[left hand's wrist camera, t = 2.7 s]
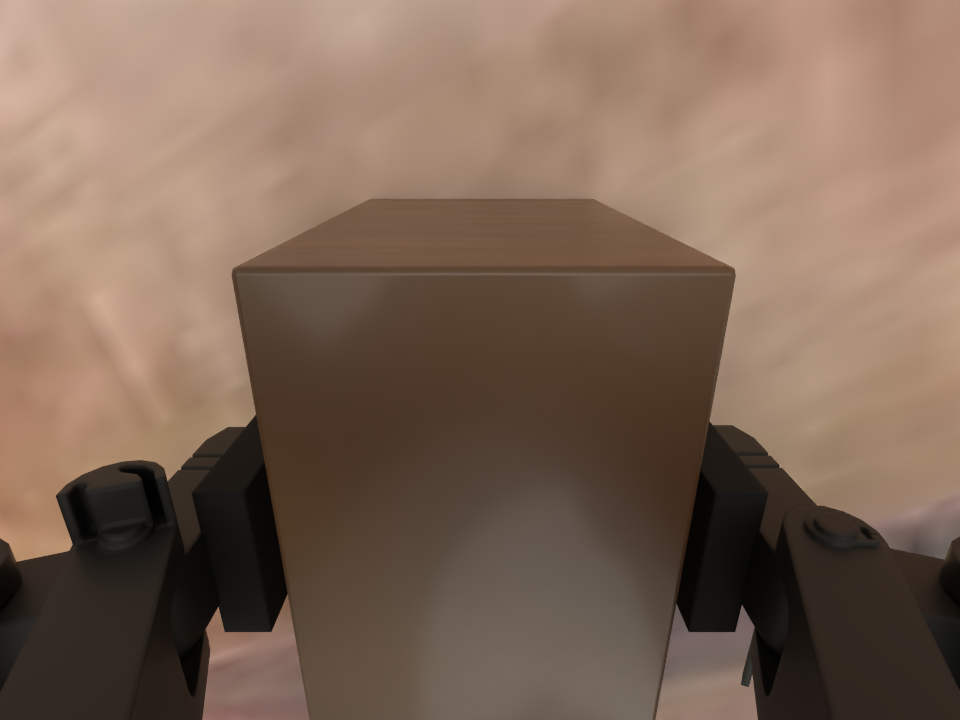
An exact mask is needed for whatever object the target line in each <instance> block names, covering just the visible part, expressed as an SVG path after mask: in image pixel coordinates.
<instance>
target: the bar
mask: <svg viewBox="0 0 960 720" xmlns="http://www.w3.org/2000/svg"><path fill="white" fill-rule="evenodd" d="M735 276H736V275H735V270H734V268H732V267H730V266H728V265H726V264H724V263H722V262H720V261H718V260H716V259H714V258H712V257H710V256H708V255H706V254H704V253H702V252H700V251H698V250H696V249H694V248H692V247H690V246H688V245H685V244H683V243H681V242H679V241H677V240H675V239H673V238H671V237H669V236H667V235H665V234H663V233H661V232H659V231H657V230H655V229H653V228H651V227H649V226H647V225H645V224H643V223H641V222H638V221H636V220H634V219H632V218H630V217H628V216H626V215H624V214H622V213H620V212H618V211H616V210H614V209H612V208H610V207H608V206H606V205H604V204H602V203H600V202H598V201H596V200H593V199H370V200H368V201H366V202H364V203H362V204H360V205H358V206H356V207H354V208H352V209H350V210H348V211H346V212H344V213H342V214H340V215H338V216H336V217H334V218H332V219H330V220H328V221H326V222H324V223H322V224H320V225H318V226H316V227H314V228H312V229H310V230H308V231H306V232H304V233H302V234H300V235H298V236H296V237H294V238H292V239H290V240H288V241H286V242H284V243H282V244H280V245H278V246H277V247H275V248H273V249H271V250H269V251H267V252H265V253H263V254H261V255H259V256H257V257H255V258H253V259H251V260H249V261H247V262H245V263H243V264H241V265H239V266H237V267H235V268H233V271H232V279H233V285H234V291H235V296H236V302H237V308H238V313H239V319H240V325H241V330H242V336H243V342H244V347H245V353H246V359H247V364H248V370H249V376H250V382H251V387H252V393H253V399H254V404H255V410H256V416H257V421H258V427H259V433H260V438H261V444H262V450H263V455H264V461H265V467H266V473H267V478H268V484H269V490H270V495H271V501H272V507H273V512H274V518H275V524H276V529H277V535H278V541H279V546H280V552H281V558H282V564H283V569H284V575H285V581H286V586H287V592H288V598H289V603H290V609H291V615H292V620H293V626H294V632H295V638H296V643H297V649H298V655H299V660H300V666H301V672H302V677H303V683H304V689H305V694H306V700H307V706H308V711H309V717H310V720H655V718H656V712H657V707H658V701H659V695H660V690H661V684H662V679H663V673H664V668H665V662H666V657H667V651H668V646H669V640H670V635H671V629H672V624H673V618H674V613H675V607H676V602H677V596H678V591H679V585H680V579H681V574H682V568H683V563H684V557H685V552H686V546H687V541H688V535H689V530H690V524H691V519H692V513H693V508H694V502H695V497H696V491H697V486H698V480H699V475H700V469H701V463H702V458H703V452H704V447H705V441H706V436H707V430H708V425H709V419H710V414H711V408H712V403H713V397H714V392H715V386H716V381H717V375H718V370H719V364H720V359H721V353H722V347H723V342H724V336H725V331H726V325H727V320H728V314H729V309H730V303H731V298H732V292H733V287H734V281H735Z"/></svg>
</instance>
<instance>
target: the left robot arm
mask: <svg viewBox="0 0 960 720" xmlns="http://www.w3.org/2000/svg"><path fill="white" fill-rule="evenodd" d="M56 498H57V501H58V504H59V506H60V509H61V512H62V515H63V518H64V520H65V523H66V526H67V529H68V532H69V534H70V537H71V540H72V543H73V545H72V547H71V549H70V551H67V552H63V553H58V554H53V555H48V556H44V557H39V558H34V559H29V560H24V561H19V562H16V560H15V558H14V555H13V553H12V550H11V548H10V545H9V544H8V543H7V542H5V541H3V540H2V539H0V720H202V716H203V708H204V699H205V691H206V682H207V674H208V665H209V657H210V647H209V640H208V636H207V632H206V627H207V626H208V624H209V622H210V620H211V619H212V617H213V615H214V613H215V611H216V610H217V608H218V606H219V609H220V613H221V618H222V622H223V626H224V630H225V632H271V631H272V629H273V627H274V624H275V622H276V620H277V617H278V615H279V613H280V610H281V608H282V606H283V603H284V601H285V599H286V596H287V594H288V592H287V586H286V581H285V575H284V569H283V564H282V558H281V552H280V546H279V541H278V535H277V529H276V524H275V518H274V512H273V507H272V501H271V495H270V490H269V484H268V478H267V473H266V467H265V461H264V455H263V450H262V444H261V438H260V433H259V427H258V421H257V416H256V415H255V417H254V418H253V419H252V420H251V422H250V423H249V424H248V425H247V426H246V427H227V428H226V429H224V430H222V431H221V432H219V433H217V434H216V435H214V436H212V437H210V438H209V439H207V440H206V441H205V442H204V443H203V444H202V445H201V446H200V447H199V448H198V449H197V451H196V452H195V453H194V454H193V457H192V458H189V459H188V460H187V461H186V462H185V464H184V465H183V466H182V467H181V470H178V471H177V472H176V473H175V474H174V475H173V477H172V478H171V479H170V480H169V481H168V482H167V478H166V474H165V470H164V468H163V467H161V466H160V465H159V464H157V463H155V462H149V461H143V460H139V461H126V462H120V463H116V464H112V465H108V466H103V467H101V468H98V469H96V470H93V471H91V472H88V473H86V474H83V475H81V476H80V477H78V478H77V479H75V480H73V481H72V482H70V483H68V484H67V485H66V486H65V487H64V488H63V489H62V490H61V491H60V492H59V493H58V494H57V495H56ZM676 603H677V606H678V608H679V610H680V613H681V615H682V617H683V620H684V622H685V624H686V627H687V629H688V631H689V632H735V630H736V626H737V622H738V618H739V614H740V609H741V605H743V607H744V609H745V610H746V612H747V614H748V616H749V617H750V619H751V621H752V623H753V624H754V626H755V628H754V632H753V636H752V640H751V644H750V648H749V652H748V655H747V659H746V663H745V667H744V671H743V676H742V682H741V685H744V686H747V687H749V684H750V680H751V676H752V675H753V681H754V689H755V698H756V706H757V715H758V720H960V537H959V538H957V539H955V540H954V541H952V543H951V546H950V548H949V550H948V553H947V555H946V558H945V560H943V559H938V558H934V557H929V556H924V555H919V554H914V553H909V552H904V551H899V550H894V549H891V548H889V546H888V544H887V543H886V541H885V540H884V539H883V538H882V536H881V535H880V534H879V533H878V531H876V530H875V529H873V528H872V527H871V526H869V525H868V524H866V523H865V522H864V521H862V520H860V519H858V518H856V517H854V516H852V515H850V514H847V513H845V512H843V511H839V510H836V509H832V508H829V507H825V506H817V505H816V504H815V503H814V502H813V501H812V500H811V499H810V498H809V497H808V495H807V494H806V493H805V492H804V491H803V490H802V489H801V488H800V487H799V486H798V485H797V484H796V483H795V482H794V480H793V479H792V478H791V477H790V476H789V475H788V474H787V473H786V472H785V471H784V470H783V469H782V468H779V464H778V463H777V462H776V461H775V460H774V459H773V458H772V457H771V456H768V453H767V451H766V450H765V449H764V448H763V447H762V446H761V445H760V444H759V443H758V442H757V441H756V440H755V439H754V438H753V437H751V436H750V435H748V434H746V433H744V432H743V431H741V430H739V429H738V428H736V427H734V426H732V425H712V424H711V423H710V421H709V425H708V430H707V436H706V441H705V447H704V452H703V458H702V463H701V469H700V475H699V480H698V486H697V491H696V497H695V502H694V508H693V513H692V519H691V524H690V530H689V535H688V541H687V546H686V552H685V557H684V563H683V568H682V574H681V579H680V585H679V591H678V596H677V602H676Z"/></svg>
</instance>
